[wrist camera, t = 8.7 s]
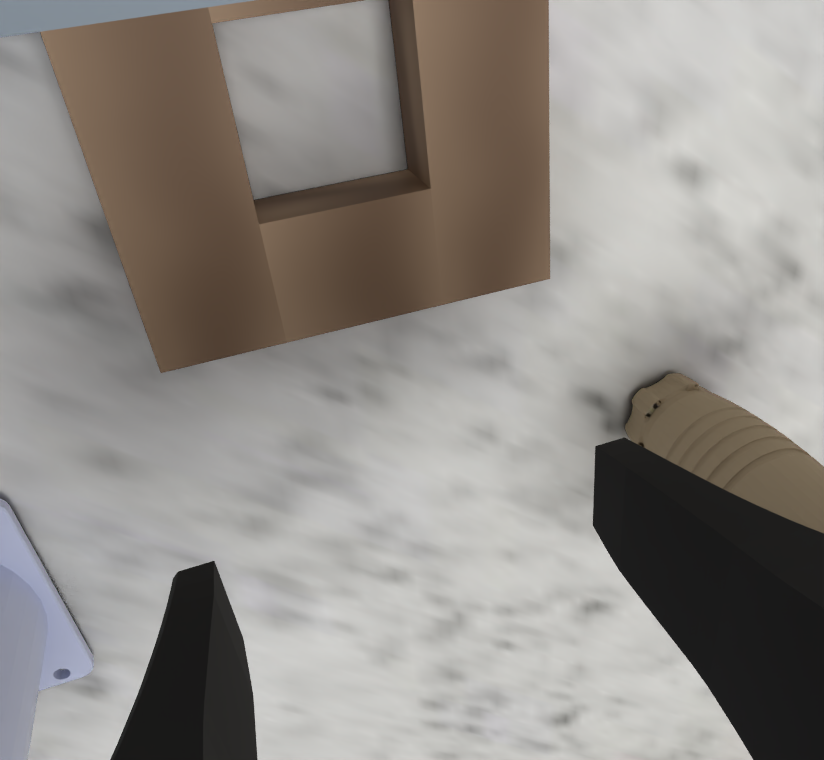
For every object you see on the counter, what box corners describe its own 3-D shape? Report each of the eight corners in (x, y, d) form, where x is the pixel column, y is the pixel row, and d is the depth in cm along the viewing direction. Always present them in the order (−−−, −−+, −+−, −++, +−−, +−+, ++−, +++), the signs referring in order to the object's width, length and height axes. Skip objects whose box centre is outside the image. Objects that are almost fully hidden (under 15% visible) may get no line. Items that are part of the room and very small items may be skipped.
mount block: (160, 338, 20) (160, 373, 18) (-6, -144, 14) (-27, -157, 12) (520, 254, 22) (550, 278, 21) (507, -196, 16) (547, -212, 15)
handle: (564, 449, 27) (909, 866, 15) (676, 311, 25) (1174, 651, 13) (642, 488, 29) (994, 873, 17) (749, 364, 28) (1227, 693, 15)
